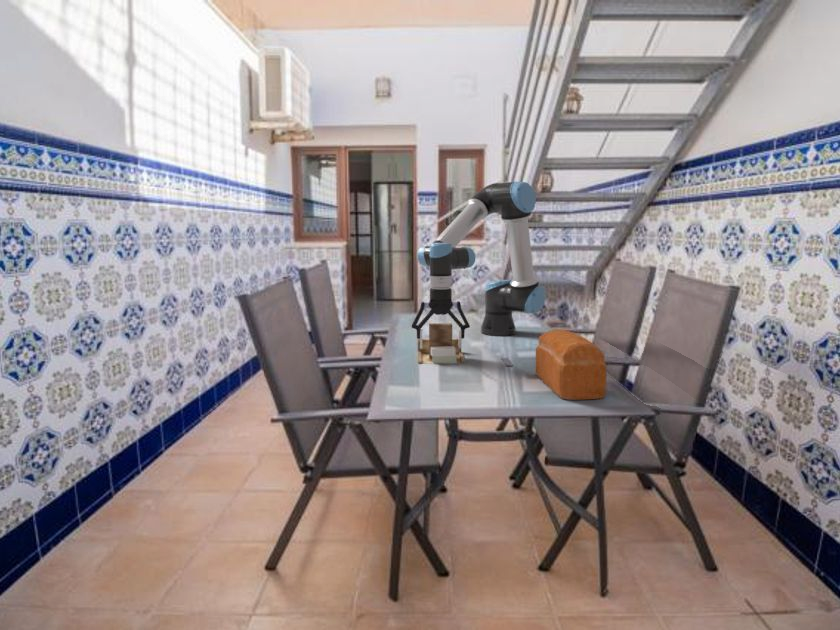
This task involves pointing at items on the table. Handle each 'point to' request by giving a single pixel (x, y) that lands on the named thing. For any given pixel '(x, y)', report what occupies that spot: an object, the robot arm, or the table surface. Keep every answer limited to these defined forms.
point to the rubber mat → (506, 362)
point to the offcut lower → (444, 359)
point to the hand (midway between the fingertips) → (440, 347)
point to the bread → (571, 365)
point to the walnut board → (439, 335)
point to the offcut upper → (443, 351)
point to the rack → (424, 359)
